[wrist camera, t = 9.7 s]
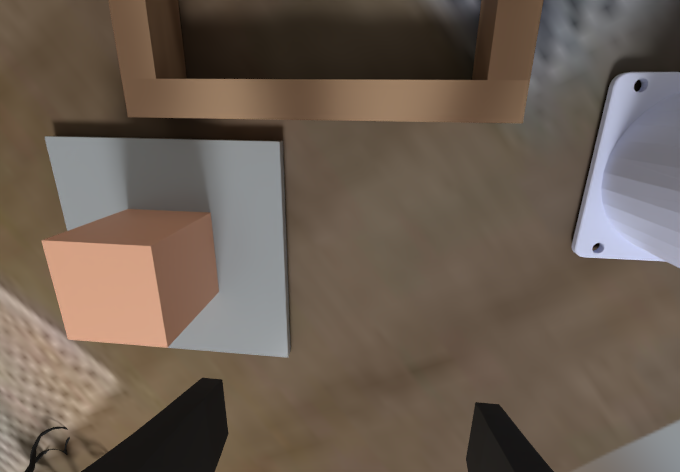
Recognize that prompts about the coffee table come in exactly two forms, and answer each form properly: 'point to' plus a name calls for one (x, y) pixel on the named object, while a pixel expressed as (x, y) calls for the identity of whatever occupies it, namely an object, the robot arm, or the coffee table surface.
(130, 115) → the well frame
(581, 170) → the coffee table surface
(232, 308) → the tile
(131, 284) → the terracotta block
